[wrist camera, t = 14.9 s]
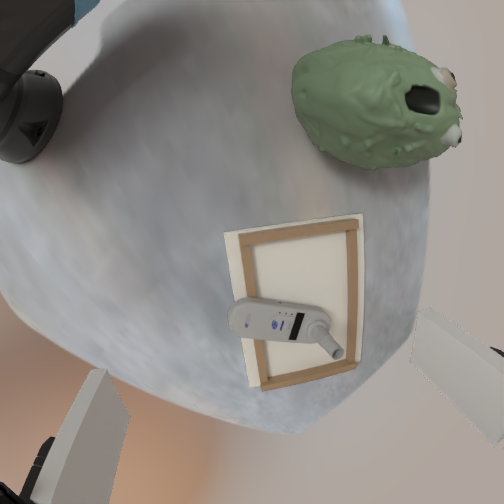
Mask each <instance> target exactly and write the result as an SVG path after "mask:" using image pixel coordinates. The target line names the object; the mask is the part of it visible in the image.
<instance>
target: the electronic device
mask: <svg viewBox="0 0 504 504" xmlns="http://www.w3.org/2000/svg"><path fill="white" fill-rule="evenodd" d="M228 322H229V325H230V328H231V330H232V331H233V333H234V334H236V335H237V336H239V337H242V338H249V339H258V340H268V341H279V342H291V343H306V344H313V343H318V344H319V345H320V346H321V347H322V348H324V349H325V351H326V352H327V353H328V354H329V355H330V356H331V358H332V359H334V360H338V359H340V358H341V357H342V356H343V354H344V349H343V348H342V347H341V346H340V345H339V344H338V343H337V342H336V341H335V340H334V338H333V336H332V335H331V334H330V333H329V330H330V328H331V320H330V317H329V316H328V315H327V314H326V313H325V312H324V311H323V310H322V309H321V308H319V307H316V306H309V305H301V304H294V303H287V302H280V301H273V300H265V299H258V298H252V297H244V298H240V299H238V300H236V301H235V302H234V303H233V304H232V305H231V306H230V308H229V311H228Z"/></svg>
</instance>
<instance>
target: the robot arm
mask: <svg viewBox="0 0 504 504" xmlns="http://www.w3.org/2000/svg"><path fill="white" fill-rule="evenodd" d="M99 1H100V0H0V159H1V160H3V161H5V162H9V163H22V162H26V161H28V160H30V159H32V158H33V157H35V156H36V155H37V154H38V153H39V152H40V151H41V150H42V149H43V148H44V147H45V146H46V145H47V143H48V142H49V140H50V139H51V137H52V135H53V133H54V131H55V129H56V127H57V124H58V122H59V119H60V115H61V111H62V102H63V96H62V90H61V86H60V84H59V82H58V81H57V79H56V78H55V77H53V76H52V75H50V74H48V73H47V72H45V71H41V70H28V69H29V68H30V67H31V66H32V64H33V63H34V62H35V61H36V60H37V59H38V58H39V57H40V56H41V55H42V54H43V53H44V52H45V51H46V50H47V49H48V48H49V47H50V46H51V45H52V44H53V43H55V42H56V41H57V40H58V39H59V38H60V37H61V36H62V35H63V34H65V32H67V31H68V30H69V29H70V28H73V27H74V26H75V25H76V24H77V23H78V21H79V20H80V19H82V18H83V17H84V16H85V15H86V14H87V13H89V12H90V11H91V10H92V9H93V8H95V7H96V6H97V4H98V3H99ZM410 362H411V363H412V364H413V365H414V366H415V367H416V368H417V369H418V370H419V371H420V372H421V373H422V374H423V375H424V376H425V377H426V378H427V379H428V380H429V381H430V382H431V383H432V384H433V385H434V386H435V387H436V388H437V389H438V390H439V391H440V392H441V393H442V394H443V395H444V396H445V397H446V398H447V399H448V400H449V401H450V402H451V403H452V404H453V405H454V406H455V407H456V408H457V409H458V410H459V412H460V413H461V414H462V415H463V416H464V417H465V418H466V419H467V420H468V421H469V422H470V423H471V424H472V425H473V426H474V427H475V428H476V429H477V430H478V431H479V433H480V434H481V435H482V436H483V437H484V438H485V439H486V440H487V441H488V442H489V443H490V444H491V445H492V446H493V447H494V446H495V445H496V444H497V443H499V442H500V441H501V440H502V439H503V438H504V352H502V351H501V350H498V349H495V348H493V347H488V346H487V345H485V344H484V343H482V342H481V341H479V340H478V339H477V338H475V337H474V336H472V335H471V334H469V333H468V332H466V331H465V330H464V329H462V328H461V327H459V326H458V325H456V324H455V323H453V322H451V321H450V320H449V319H447V318H446V317H444V316H442V315H441V314H439V313H438V312H436V311H435V310H433V309H432V308H427V309H425V310H422V311H419V312H418V316H417V323H416V330H415V336H414V342H413V348H412V353H411V358H410ZM129 420H130V414H129V412H128V411H127V409H126V407H125V405H124V403H123V401H122V399H121V397H120V395H119V394H118V391H117V389H116V387H115V385H114V383H113V381H112V379H111V377H110V375H109V373H108V370H107V369H92V370H91V371H90V373H89V375H88V376H87V378H86V380H85V382H84V384H83V385H82V387H81V389H80V391H79V393H78V395H77V396H76V398H75V400H74V402H73V404H72V406H71V408H70V410H69V412H68V414H67V416H66V418H65V420H64V422H63V424H62V426H61V428H60V430H59V432H58V434H57V436H56V437H50V438H49V439H47V440H46V441H45V443H44V444H43V445H42V446H41V448H40V450H39V452H38V455H37V457H36V459H35V461H34V466H32V467H31V470H30V472H29V474H28V477H27V479H26V481H25V483H24V486H23V488H22V491H21V493H20V495H19V496H17V495H16V494H15V493H14V492H13V491H12V490H11V489H10V488H8V487H7V486H6V485H5V484H4V483H3V482H0V504H109V501H110V496H111V491H112V487H113V482H114V478H115V474H116V470H117V466H118V462H119V458H120V453H121V450H122V446H123V442H124V438H125V435H126V431H127V427H128V424H129Z"/></svg>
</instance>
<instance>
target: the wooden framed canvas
mask: <svg viewBox="0 0 504 504" xmlns="http://www.w3.org/2000/svg"><path fill="white" fill-rule="evenodd" d="M224 238H225V245H226V251H227V258H228V264H229V270H230V277H231V283H232V289H233V295H234V301H236V300H238V299H240V298H244V297H252V298H258V299H265V300H273V301H280V302H287V303H294V304H301V305H309V306H316V307H319V308H321V309H322V310H323V311H324V312H325V313H326V314H327V315H328V316H329V317H330V320H331V328H330V330H329V333H330V334H331V335H332V336H333V338H334V340H335V341H336V342H337V343H338V344H339V345H340V346H341V347H342V348H343V349H344V354H343V356H342V357H341V358H340V359H338V360H334V359H332V358H331V356H330V355H329V354H328V353H327V352H326V351H325V349H324V348H322V347H321V346H320V345H319V344H318V343H313V344H306V343H291V342H279V341H268V340H258V339H249V338H242V337H241V342H242V348H243V353H244V359H245V364H246V370H247V375H248V380H249V386H250V387H255V386H261V389H262V391H267V390H272V389H277V388H282V387H287V386H291V385H296V384H300V383H304V382H309V381H313V380H317V379H321V378H324V377H328V376H332V375H335V374H339V373H342V372H346V371H349V370H352V369H356V366H357V363H356V362H359V361H360V360H361V348H362V334H363V316H364V230H363V214H362V213H357V214H349V215H341V216H333V217H326V218H318V219H310V220H303V221H296V222H288V223H281V224H274V225H267V226H260V227H253V228H247V229H240V230H233V231H227V232H224Z"/></svg>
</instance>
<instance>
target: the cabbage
mask: <svg viewBox="0 0 504 504" xmlns="http://www.w3.org/2000/svg"><path fill="white" fill-rule="evenodd" d="M456 85H457V83H456V80H455V77H454V74H453V73H451V72H450V71H449V70H448V69H447V68H446V67H441V68H438V67H437V66H436V65H434V64H433V63H432V62H430V61H428V60H427V59H425V58H423V57H422V56H418V55H417V54H416V53H414V52H410V51H407V50H406V49H403V48H402V47H401V46H396V45H394V44H390V43H389V40H388V38H387V36H386V35H383V42H382V44H381V45H380V44H375V43H372V37H371V36H370V35H366V36H363V37H361V36H356V38H355V39H354V40H347V41H341V42H337V43H335V44H332V45H330V46H328V47H326V48H322V49H320V50H316V51H314V52H312V53H309V54H307V55H305V56H304V57H302V58H301V59H300V60H299V61H298V62H297V64H296V65H295V67H294V70H293V75H292V91H291V93H292V100H293V104H294V107H295V113H296V116H297V118H298V120H299V122H300V123H301V125H302V126H303V127H304V129H305V130H306V131H307V133H308V135H309V137H310V138H311V140H312V142H313V144H314V145H316V146H318V147H319V150H320V151H321V152H325V151H326V152H328V153H330V154H331V155H332V156H334V157H336V158H337V159H339V160H341V161H343V162H348V163H350V164H352V165H355V166H358V167H362V168H364V169H366V170H370V169H371V170H375V169H377V168H390V167H406V166H410V165H413V164H416V163H418V162H420V161H422V160H428V159H430V158H433V157H437V156H439V155H441V154H442V153H443V152H445V151H446V150H447V149H448V148H449V147H450V146H452V147H455V148H456V146H458V144H459V143H460V142H461V137H462V131H461V129H460V127H459V118H461V119H463V117H462V115H461V113H460V112H461V111H460V108H459V106H458V105H457V104H456V97H457V95H456V92H457V90H455V89H454V88H455V87H456Z"/></svg>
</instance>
